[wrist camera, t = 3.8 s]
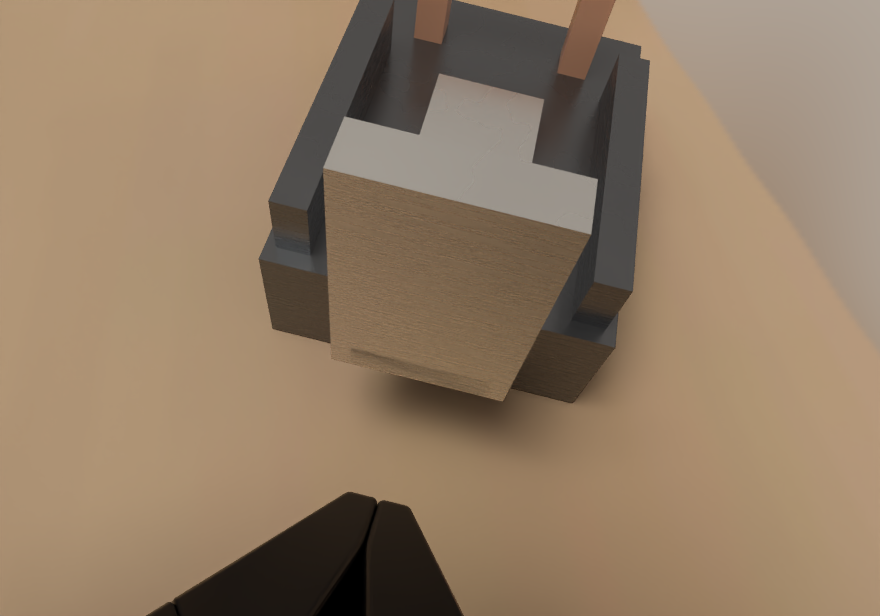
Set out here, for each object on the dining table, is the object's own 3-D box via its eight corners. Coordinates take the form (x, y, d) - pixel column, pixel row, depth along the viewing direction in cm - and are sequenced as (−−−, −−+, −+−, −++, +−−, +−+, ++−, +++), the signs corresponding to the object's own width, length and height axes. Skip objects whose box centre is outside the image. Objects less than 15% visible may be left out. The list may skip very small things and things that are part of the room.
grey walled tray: (572, 403, 22) (643, 310, 16) (272, 328, 22) (249, 213, 16) (605, 125, 28) (663, -3, 23) (376, 68, 28) (382, -72, 23)
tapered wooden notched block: (502, 401, 17) (591, 233, 11) (331, 358, 17) (323, 168, 11) (551, 124, 22) (630, -94, 16) (420, 91, 22) (449, -139, 16)
